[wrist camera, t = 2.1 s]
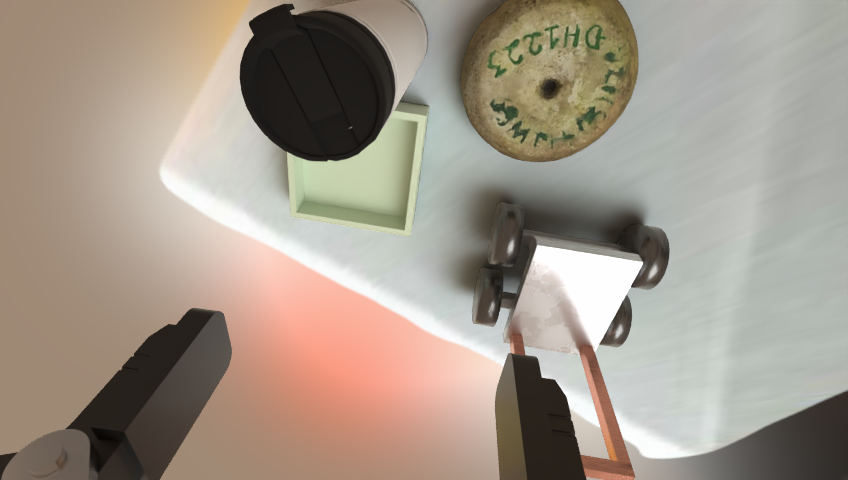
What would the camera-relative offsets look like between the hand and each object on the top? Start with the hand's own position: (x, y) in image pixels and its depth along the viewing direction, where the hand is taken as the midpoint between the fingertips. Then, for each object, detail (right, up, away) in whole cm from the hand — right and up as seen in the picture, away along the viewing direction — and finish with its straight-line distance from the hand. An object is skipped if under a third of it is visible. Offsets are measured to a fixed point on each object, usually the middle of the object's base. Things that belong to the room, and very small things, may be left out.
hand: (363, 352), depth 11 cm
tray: (-4, +11, +28) cm, 30 cm away
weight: (+12, +17, +23) cm, 31 cm away
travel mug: (-1, +20, +22) cm, 30 cm away
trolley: (+16, +1, +32) cm, 36 cm away
